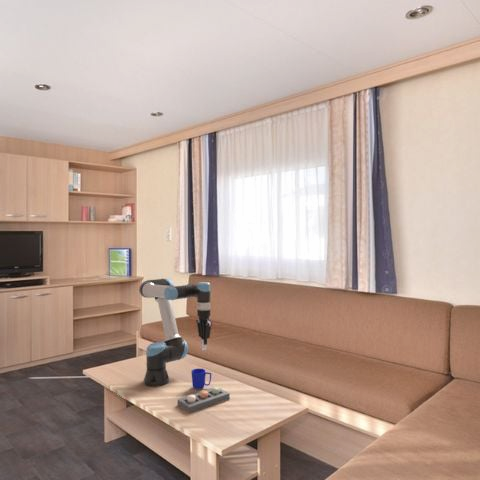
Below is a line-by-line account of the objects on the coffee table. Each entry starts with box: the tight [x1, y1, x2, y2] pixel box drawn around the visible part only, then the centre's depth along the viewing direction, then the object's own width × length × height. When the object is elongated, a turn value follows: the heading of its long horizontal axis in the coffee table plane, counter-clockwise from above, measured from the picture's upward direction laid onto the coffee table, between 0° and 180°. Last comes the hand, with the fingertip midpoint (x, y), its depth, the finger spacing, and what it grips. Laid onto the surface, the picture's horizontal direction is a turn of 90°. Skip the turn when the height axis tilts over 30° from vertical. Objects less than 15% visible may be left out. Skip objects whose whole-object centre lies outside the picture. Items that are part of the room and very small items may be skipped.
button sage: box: [211, 386, 221, 395], centre depth 217 cm, size 4×4×3 cm
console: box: [177, 388, 231, 413], centre depth 212 cm, size 12×26×3 cm, turn 130°
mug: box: [190, 368, 212, 390], centre depth 231 cm, size 8×12×10 cm
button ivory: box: [186, 394, 196, 404], centre depth 207 cm, size 4×4×3 cm
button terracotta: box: [200, 390, 208, 400], centre depth 212 cm, size 4×4×3 cm
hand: (204, 349), depth 225 cm, fingers closed
